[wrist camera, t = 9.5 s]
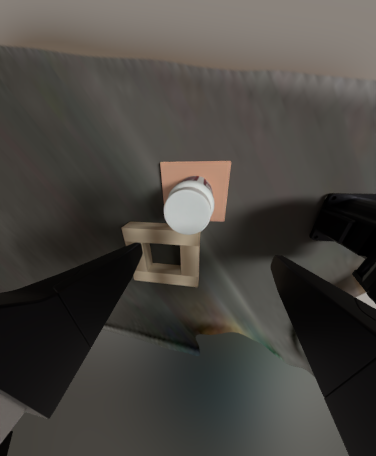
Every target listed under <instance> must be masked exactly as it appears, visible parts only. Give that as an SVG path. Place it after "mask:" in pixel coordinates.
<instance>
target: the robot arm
mask: <svg viewBox="0 0 376 456" xmlns="http://www.w3.org/2000/svg"><path fill="white" fill-rule="evenodd" d="M333 196H334V198H333V199H332V197H333ZM314 236H315V237H314ZM310 238H311V239H313V240H320V241H335V242H337V243H339V244H341V245H342V246H344V247H346V248H347V249H349V250H351V251H352V252H354V253H355V254H357V255H359V256H361V257H363V258H364V259H365V260H364V261H363V263H362V264H361V265H360V266H359V268H358V269H357V270H355V271H354V272H353V273H352V275H353V276H354V277H355V278H356V280H357V281H358V282H359V284H360V285H361V286H362V287H363V289H364V290H365V291H366V292H367V295H368V296H369V297H370V298H371V299H372V300H373V301H374V302H375V304H376V194H346V193H332V194H329V195H328V196H327V198H326V200H325V203H324V205H323V207H322V209H321V212H320V214H319V216H318V218H317V221H316V223H315V225H314V228H313V230H312V232H311V234H310ZM142 255H143V251H142V245H141V243H137V242H135V243H132V244H130V245H128V246H125V247H123V248H120V249H118V250H116V251H113V252H111V253H109V254H106V255H104V256H101V257H99V258H97V259H94V260H92V261H90V262H87V263H85V264H83V265H80V266H78V267H75V268H73V269H70V270H68V271H65V272H63V273H60V274H58V275H55V276H52V277H50V278H47V279H44V280H42V281H39V282H36V283H33V284H31V285H28V286H25V287H23V288H20V289H17V290H13V291H9V292H3V293H0V456H7V453H8V449H9V445H10V441H11V437H12V433H13V431H11V429H12V428H13V426H14V425H15V424H16V423H17V421H18V420H19V419H20V417H21V416H22V415H23V413H24V412H27V413H30V414H33V415H36V416H40V417H43V418H47V419H49V418H50V417H51V415H52V414H53V412H54V411H55V409H56V407H57V406H58V404H59V402H60V400H61V399H62V397H63V395H64V393H65V392H66V390H67V388H68V387H69V385H70V383H71V382H72V380H73V378H74V376H75V375H76V373H77V371H78V370H79V368H80V366H81V364H82V363H83V361H84V359H85V358H86V356H87V354H88V352H89V350H90V349H91V347H92V345H93V344H94V342H95V340H96V338H97V337H98V335H99V333H100V332H101V330H102V328H103V326H104V325H105V323H106V321H107V319H108V318H109V316H110V314H111V313H112V311H113V309H114V307H115V306H116V304H117V302H118V301H119V299H120V297H121V295H122V294H123V292H124V290H125V289H126V287H127V285H128V283H129V282H130V280H131V278H132V277H133V275H134V273H135V271H136V269H137V266H138V264H139V262H140V260H141V257H142ZM271 271H272V274H273V278H274V281H275V284H276V287H277V290H278V293H279V295H280V298H281V300H282V302H283V304H284V307H285V309H286V311H287V314H288V316H289V318H290V321H291V323H292V325H293V327H294V330H295V332H296V334H297V337H298V339H299V341H300V344H301V346H302V348H303V350H304V353H305V355H306V357H307V360H308V362H309V364H310V367H311V369H312V371H313V373H314V376H315V378H316V380H317V383H318V385H319V387H320V390H321V392H322V394H323V396H324V397H325V398H324V399H325V401H326V404H327V406H328V408H329V411H330V413H331V415H332V417H333V419H334V422H335V424H336V427H337V429H338V431H339V434H340V436H341V438H342V440H343V443H344V445H345V447H346V450H347V452H348V454H349V456H376V309H375V308H372V307H371V306H369V305H367V304H366V303H364V302H362V301H360V300H358V299H357V298H354V297H353V296H352V295H350V294H348V293H346V292H345V291H343V290H341V289H340V288H338V287H336V286H334V285H333V284H331V283H329V282H327V281H326V280H324V279H322V278H320V277H319V276H317V275H315V274H313V273H312V272H310V271H308V270H306V269H305V268H303V267H301V266H299V265H298V264H296V263H294V262H293V261H291V260H289V259H287V258H286V257H284V256H281V255H275V256H274V257H273V260H272V263H271Z"/></svg>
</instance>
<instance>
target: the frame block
mask: <svg viewBox="0 0 376 456" xmlns="http://www.w3.org/2000/svg"><path fill="white" fill-rule="evenodd" d="M122 232H123V236H124V240H125V244H126V246H128V245H130V244H132V243H135V242H137V243H141V245H142V251H143V255H142V257H141V260H140V262H139V264H138V266H137V269H136V271H135V273H134V275H133V276H134V280H138V281H147V282H156V283H165V284H174V285H183V286H192V287H198V281H199V258H200V232H199V233H196V234H192V235H185V234H180V233H178V232H176V231H174V230H173V229H172V228H171V227H170V226H169V225H168V224H167V223H150V222H129V223H127V224H126V225H125V226H123V227H122ZM150 243H157V244H172V245H180V254H181V265H172V264H161V263H153V262H152V256H151V249H150Z"/></svg>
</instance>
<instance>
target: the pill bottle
mask: <svg viewBox="0 0 376 456" xmlns="http://www.w3.org/2000/svg"><path fill="white" fill-rule="evenodd" d="M214 206H215V203H214V197H213V191H212V187H211V185H210V183H209V182H208V181H207V180H206V179H205V178H203V177H201V176H190V177H187V178H186V179H184V180H183V181H181V182H180V183H178V184H177V185H176V186H174V188H173V189H172V190H171V191H170V193H169V196H168V199H167V200H166V202H165V205H164V217H165V220H166V222H167V224H168V225H169V226H170V227H171V228H172V229H173V230H174V231H176V232H178V233H180V234H185V235H192V234H196V233H199V232H200V231H202V230H203V229H204V228H205V227H206V226H207V225H208V223H209V221H210V218H211V216H212V214H213V211H214Z"/></svg>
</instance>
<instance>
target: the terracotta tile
mask: <svg viewBox="0 0 376 456" xmlns="http://www.w3.org/2000/svg"><path fill="white" fill-rule="evenodd" d="M160 166H161V177H162V188H163V199H164V205H165V202H166V200H167V199H168V196H169V193H170V191H171V190H172V189H173V188H174V186H176V185H177V184H178V183H180V182H181V181H183V180H184V179H186V178H187V177H190V176H201V177H203V178H205V179H206V180H207V181H208V182H209V183H210V185H211V187H212V191H213V197H214V203H215V206H214V211H213V214H212V216H211V218H210V221H223V222H224V220H225V211H226V202H227V194H228V185H229V176H230V168H231V161H196V162H160Z"/></svg>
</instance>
